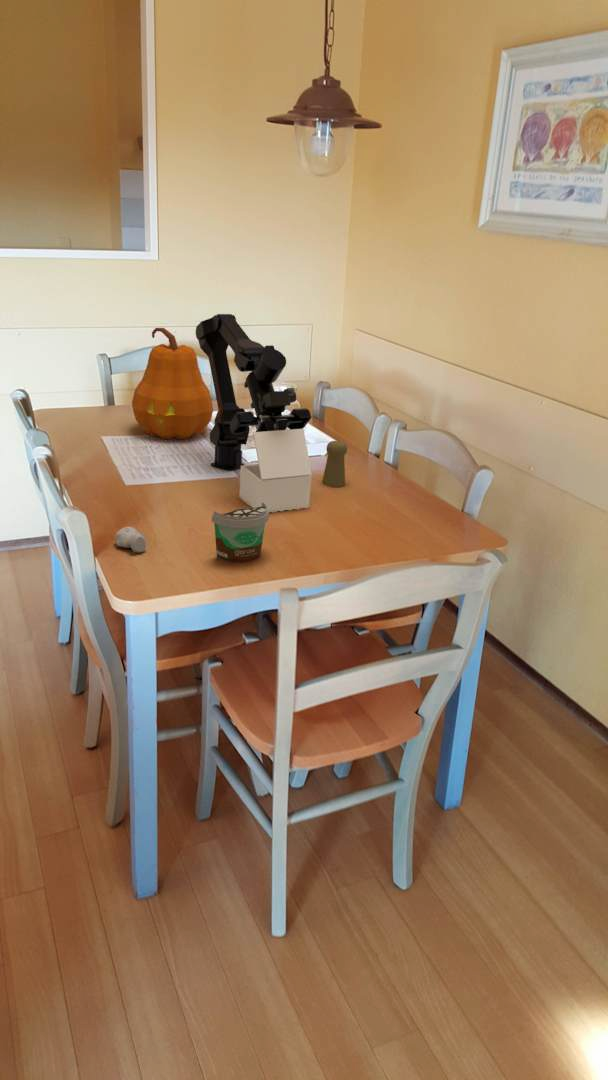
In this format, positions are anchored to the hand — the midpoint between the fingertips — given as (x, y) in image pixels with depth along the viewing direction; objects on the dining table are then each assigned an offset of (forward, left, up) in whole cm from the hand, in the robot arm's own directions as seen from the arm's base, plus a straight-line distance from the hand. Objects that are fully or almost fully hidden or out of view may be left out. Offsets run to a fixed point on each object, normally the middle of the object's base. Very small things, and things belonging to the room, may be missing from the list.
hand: (280, 453), depth 186 cm
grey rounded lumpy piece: (-9, -40, -13) cm, 43 cm away
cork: (+2, +23, -13) cm, 27 cm away
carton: (-2, +1, -13) cm, 13 cm away
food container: (+12, -29, -13) cm, 34 cm away
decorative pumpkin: (-56, +28, -13) cm, 64 cm away
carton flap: (+1, 0, 0) cm, 1 cm away
